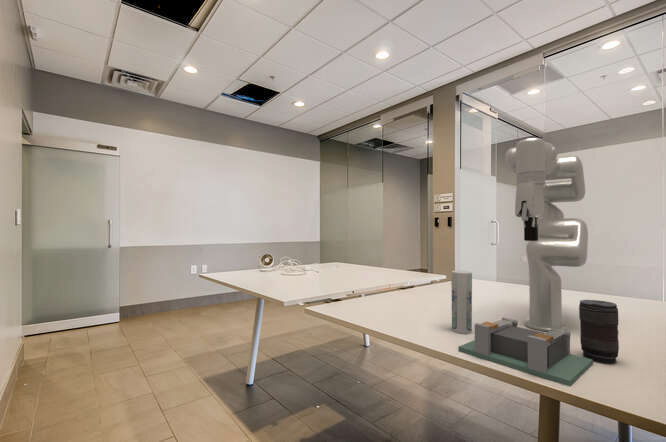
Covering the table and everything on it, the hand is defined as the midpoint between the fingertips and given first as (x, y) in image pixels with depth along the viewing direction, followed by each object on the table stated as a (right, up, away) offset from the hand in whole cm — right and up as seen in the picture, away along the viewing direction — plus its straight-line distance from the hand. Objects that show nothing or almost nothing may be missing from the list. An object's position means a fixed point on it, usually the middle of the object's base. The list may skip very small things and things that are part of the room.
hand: (531, 240), depth 96 cm
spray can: (-16, -32, +12) cm, 37 cm away
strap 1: (-13, -24, -5) cm, 28 cm away
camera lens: (+11, -31, -11) cm, 35 cm away
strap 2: (-5, -24, -16) cm, 29 cm away
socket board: (-9, -31, -11) cm, 34 cm away
